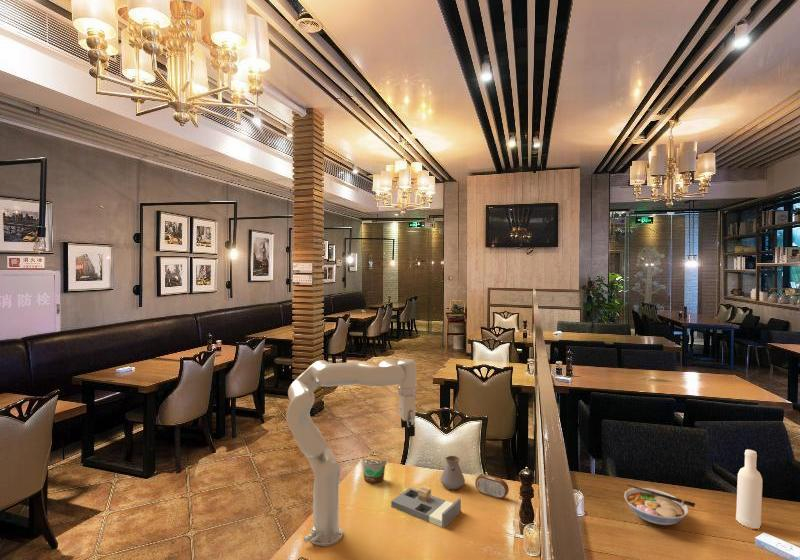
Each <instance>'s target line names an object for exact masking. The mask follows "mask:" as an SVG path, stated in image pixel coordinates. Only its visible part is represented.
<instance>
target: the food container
mask: <svg viewBox="0 0 800 560" xmlns="http://www.w3.org/2000/svg"><path fill="white" fill-rule="evenodd" d="M387 464H388V463H387V460H386V458H385V459H384V460H378V459H364V457H362V459H361V466H362V468H363V469H362V471H363V478H364V479H363V480H364V481H365V483H368V484H371V485H375V484H376V485H377V484H380V483H382V482H383V481H384V479H385V470H386V465H387Z"/></svg>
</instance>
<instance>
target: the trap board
mask: <svg viewBox="0 0 800 560" xmlns="http://www.w3.org/2000/svg"><path fill="white" fill-rule="evenodd" d="M418 490H419V489H418ZM418 490H417V489H415V488H413V487H408V488H406V490H404V491H402V492H401V493H400V494H398V495H397V496H396V497H395V498H393V499H392V500H390V501H391V502H390V504H391V506H390V507H391V508H393V509H396V510H398V509H399V511H401V512H403V511H404V513H407V514H408V515H411V516H413V517H416V518H417V519H421V520H423V521H425V520H426V522H427V523H428V522H429V523H430V522H431V524H434V525H435V524H436V526H439V527H440V528H443V529H444V528H446V527H447V526H448V525H449V524H450V523H451V522H452V521H453V520H454V519H455V518H456V517H457V516H459V514H460V513H461V511H462V499H461V498H459V497H458V498H457V499H456V500H455V501H454V502H451V501H448V500H447V499H446V500H445V499H443V498H440V497H438V496H434V495H432V494H431V498H430V499H429V500H428V501H427V502H425V501H422V500H419V499H418Z"/></svg>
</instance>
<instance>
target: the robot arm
mask: <svg viewBox="0 0 800 560" xmlns="http://www.w3.org/2000/svg"><path fill="white" fill-rule="evenodd" d="M353 385H356V386H357V385H358V386H368V387H369V386H370V387H373V386H375V387H385V386H393V385H397V393H398V395H399V396H398V397H399V398H398V415H399V416H400V427H401V428H402V429H403V428H406V437H415V436H416V425H415V423H416V422H415V420H416V399H415V397H416V395H417V394H418V393H417V391H418V390H417V362H416V361H415V360H414V359H410V358H403V359H399V360H398V359H396V360H395V359H386V360H385V359H384V360H382V361H381V362H380V363H378V365H376V366H375V365H369V364H365V363H362V362H357V361H351V362H337V363H334V362H333V363H330V362H328V361H327V360H325V359H319V360H316V361H315V362H313V363H312V364H311V365H310V366H308V368H307V369H306V370H305V371H303V372H302V373H301V374H300V375H299V376H298V377H296V379H294V381H293V382H292V383H291V384H290V385H289V388H288V390H287V395H288V399H289V400H290V403H289V405H288V406H287V410H286V412H285V419H286V420H285V421H286V425H287V427H288V429H289V430H290V432H291V434H292V436H293V438H294V440H295V442H296V444H297V446H298V447H299V450H300V452H301V453H302V454H303V455H304V457H305V458H306V459H307V462H308V464H309V465H310V467H311V469H312V472H313V489H312V496H313V497H312V498H313V499H312V504H313V506H312V507H313V509H312V510H313V511H312V512H313V513H312V514H313V515H312V516H313V517H312V518H313V520H312V521H313V526H312V527H311V528H310V529H311V530H310V532H309V534H308V535H305V537H303V541H304V543H306V544H307V543H308V542H311V543H312V544H313V545H315V546H318V547H319V546H320V547H329V546H332V545H335V544H337V543H339V542H340V541H341V540H342V538H343V536H344V533H343V532H344V531H343V528H342V527H341V526H339V525H340V524H339V521H340V520H339V519H340V518H339V510H340V509H339V508H340V507H339V503H340V502H339V495H340V494H339V484H340V475H341V466H340V464H339V461H338V459H337V458H336V456H335V454H334V453H333V451H332V449H331V448H330V446H329V444H328V443H327V441H326V440H325V437H324V435H323V434H322V432H321V430H320V428H319V427H318V426H317V425H315V423H314V420H313V419H312V417H311V413H310V412H311V409H312V408H313V406H314V403H315V401H316V400H315V397H316V396H315V393H314V392H315V391H316V390H317V389H318V387H320V386H321V387H324V388H325V387H326V388H329V387H338V386H339V387H340V386H353Z"/></svg>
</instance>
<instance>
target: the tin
mask: <svg viewBox="0 0 800 560" xmlns="http://www.w3.org/2000/svg"><path fill="white" fill-rule="evenodd" d="M475 487H476V489H477V490H478V491H479V492H480V493H481V494H483V495H487V496H490V497H493V498H496V499H500V500H501V499H504V498H505V497H506V496H507V495H508V494H509V489H510V488H509V486H508V484H507V482H506V481H505V480H504V479H502V478H500V477H496V476H493V475H489V474H485V473H481V474H479V475H478V476H477V477H476V478H475Z"/></svg>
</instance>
